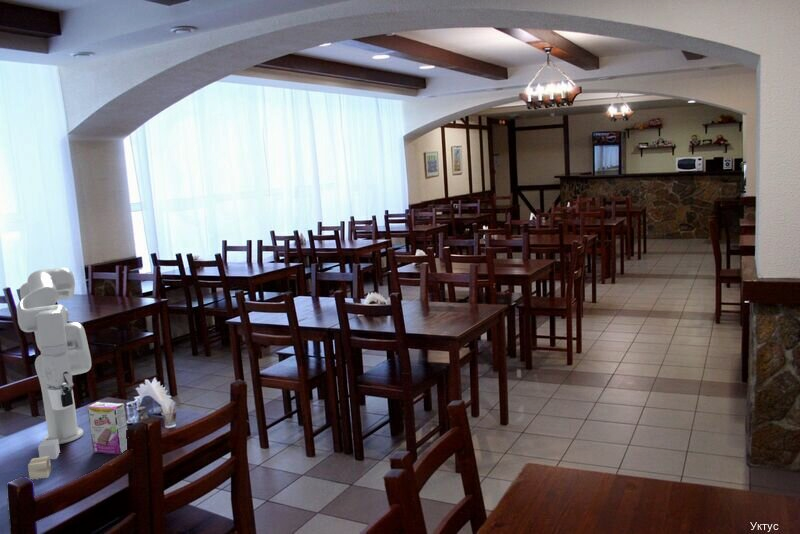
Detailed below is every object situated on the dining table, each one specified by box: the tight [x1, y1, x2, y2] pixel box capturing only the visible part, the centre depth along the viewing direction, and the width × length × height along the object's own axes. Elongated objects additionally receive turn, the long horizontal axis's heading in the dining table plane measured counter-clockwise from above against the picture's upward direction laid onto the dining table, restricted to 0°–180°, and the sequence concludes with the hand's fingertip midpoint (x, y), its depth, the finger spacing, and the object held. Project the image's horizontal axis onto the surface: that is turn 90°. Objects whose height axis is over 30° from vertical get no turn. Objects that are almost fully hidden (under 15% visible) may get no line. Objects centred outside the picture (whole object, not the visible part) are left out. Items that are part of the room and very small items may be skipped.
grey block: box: [37, 439, 61, 460], centre depth 221 cm, size 5×5×5 cm
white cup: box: [47, 382, 72, 410], centre depth 211 cm, size 7×7×7 cm
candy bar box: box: [87, 401, 128, 456], centre depth 221 cm, size 11×5×16 cm, turn 74°
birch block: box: [27, 456, 52, 481], centre depth 207 cm, size 5×5×5 cm
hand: (61, 403), depth 211 cm, fingers closed on white cup, 6 cm apart
